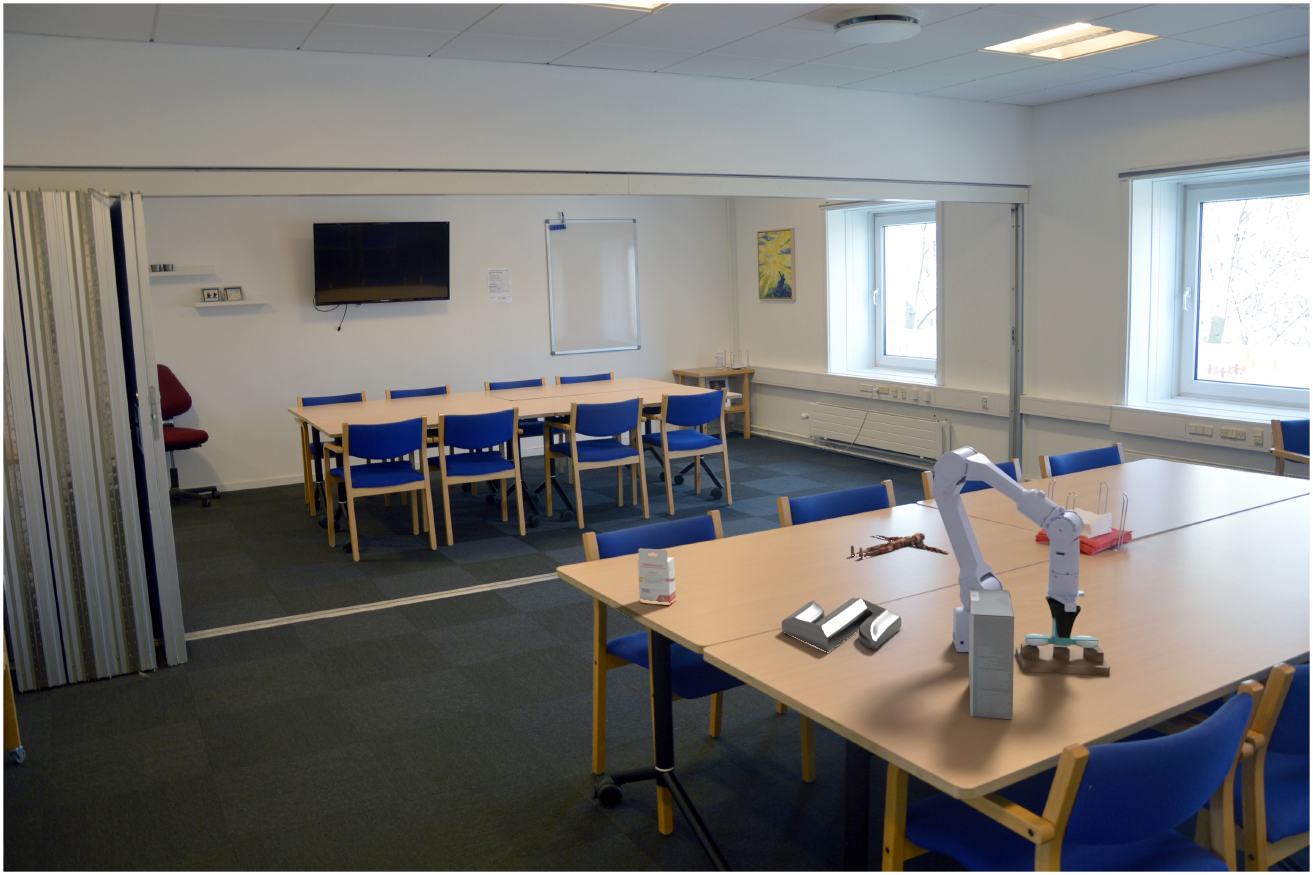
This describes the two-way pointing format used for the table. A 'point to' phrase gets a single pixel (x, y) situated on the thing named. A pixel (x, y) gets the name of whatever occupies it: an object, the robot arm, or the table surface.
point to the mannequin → (896, 545)
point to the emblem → (842, 624)
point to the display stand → (1062, 660)
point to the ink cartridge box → (656, 576)
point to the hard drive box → (991, 653)
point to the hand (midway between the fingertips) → (1061, 634)
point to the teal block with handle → (1060, 639)
